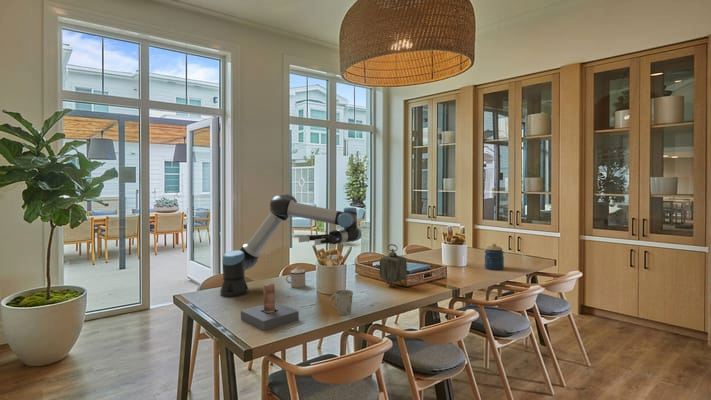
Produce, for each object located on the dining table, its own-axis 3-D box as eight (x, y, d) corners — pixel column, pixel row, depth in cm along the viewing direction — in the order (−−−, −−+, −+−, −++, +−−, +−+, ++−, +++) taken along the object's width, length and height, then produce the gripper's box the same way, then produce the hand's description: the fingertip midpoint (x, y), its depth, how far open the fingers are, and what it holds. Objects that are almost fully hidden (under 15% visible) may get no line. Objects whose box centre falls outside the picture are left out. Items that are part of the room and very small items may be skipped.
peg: (262, 319, 179) (261, 284, 178) (271, 316, 182) (270, 282, 182) (267, 322, 175) (267, 286, 175) (277, 319, 179) (276, 284, 178)
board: (240, 319, 180) (240, 310, 180) (274, 310, 192) (274, 301, 192) (263, 330, 165) (263, 321, 165) (298, 319, 178) (298, 311, 178)
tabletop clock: (407, 286, 232) (406, 244, 231) (398, 289, 225) (398, 246, 224) (387, 282, 241) (386, 242, 240) (378, 285, 235) (377, 244, 234)
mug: (346, 317, 180) (346, 295, 180) (324, 312, 187) (324, 292, 187) (356, 312, 188) (356, 291, 187) (334, 307, 194) (334, 287, 194)
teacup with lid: (303, 283, 243) (303, 264, 242) (307, 287, 234) (307, 267, 234) (284, 285, 238) (283, 266, 237) (287, 289, 229) (287, 269, 229)
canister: (486, 270, 272) (486, 244, 271) (483, 266, 284) (483, 242, 284) (505, 270, 270) (505, 245, 269) (501, 266, 282) (502, 242, 282)
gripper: (353, 245, 208) (322, 251, 194) (323, 241, 226) (293, 245, 212) (353, 231, 208) (322, 236, 193) (323, 228, 226) (292, 231, 211)
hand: (306, 241), depth 202 cm, fingers open, 13 cm apart
